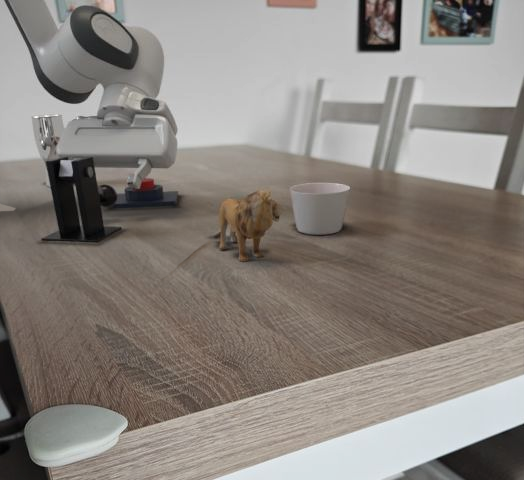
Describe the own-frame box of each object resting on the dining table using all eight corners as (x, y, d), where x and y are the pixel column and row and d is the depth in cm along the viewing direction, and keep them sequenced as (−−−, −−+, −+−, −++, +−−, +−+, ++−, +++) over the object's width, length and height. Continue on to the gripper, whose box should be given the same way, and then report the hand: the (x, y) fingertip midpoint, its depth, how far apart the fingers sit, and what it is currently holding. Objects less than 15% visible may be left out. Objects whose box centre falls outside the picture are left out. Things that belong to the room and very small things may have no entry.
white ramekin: (338, 221, 90) (339, 181, 87) (356, 235, 82) (358, 191, 79) (284, 225, 89) (284, 184, 86) (297, 239, 81) (297, 195, 78)
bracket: (71, 232, 88) (56, 155, 83) (122, 234, 86) (111, 155, 81) (42, 246, 81) (24, 162, 76) (98, 248, 79) (83, 163, 74)
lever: (99, 210, 91) (102, 189, 91) (119, 210, 90) (122, 189, 91) (53, 180, 78) (56, 155, 79) (76, 180, 78) (79, 155, 78)
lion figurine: (289, 260, 72) (288, 189, 68) (255, 268, 69) (253, 195, 65) (229, 238, 83) (225, 175, 79) (198, 244, 80) (193, 180, 76)
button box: (109, 213, 100) (106, 194, 98) (118, 202, 109) (115, 184, 107) (176, 210, 101) (174, 190, 99) (179, 199, 110) (177, 181, 108)
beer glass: (53, 188, 125) (39, 117, 118) (38, 185, 129) (24, 116, 122) (81, 184, 129) (69, 114, 123) (65, 181, 134) (53, 114, 127)
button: (131, 192, 102) (130, 182, 101) (134, 188, 105) (133, 178, 104) (153, 191, 102) (152, 181, 101) (155, 187, 105) (154, 177, 105)
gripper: (60, 103, 93) (38, 173, 89) (174, 102, 89) (157, 175, 84) (79, 129, 99) (59, 195, 95) (186, 129, 94) (170, 198, 90)
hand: (106, 186), depth 90 cm, fingers open, 8 cm apart
